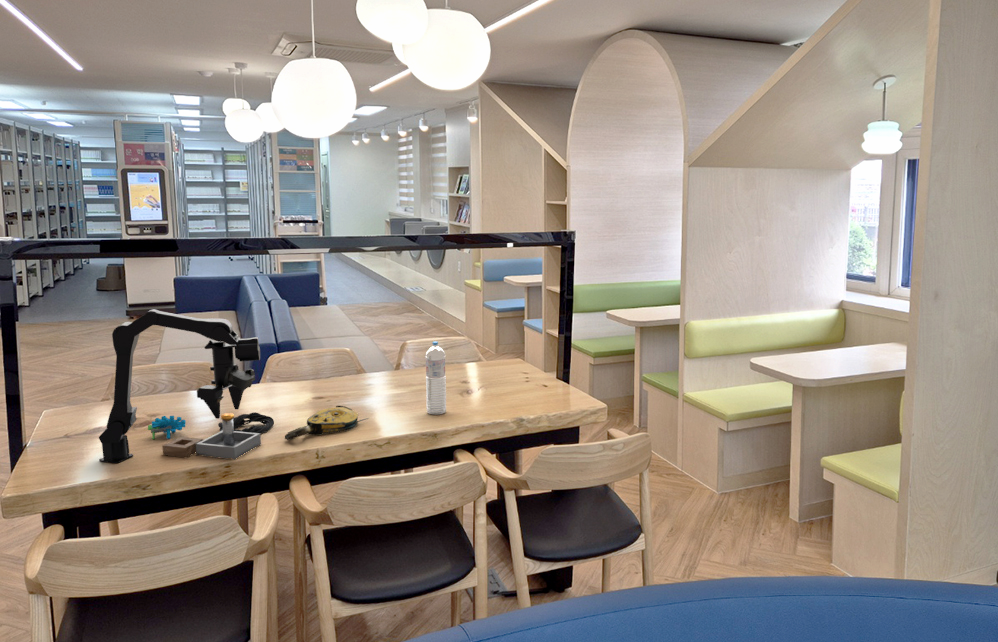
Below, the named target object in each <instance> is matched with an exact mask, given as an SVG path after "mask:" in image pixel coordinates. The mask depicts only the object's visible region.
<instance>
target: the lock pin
mask: <svg viewBox="0 0 998 642" xmlns="http://www.w3.org/2000/svg"><path fill="white" fill-rule="evenodd" d="M233 418H235V414H234V413H233V412H225V413H222V414H220V420H222V424H223V440H224V445H225V446H235V444H234V427H233Z"/></svg>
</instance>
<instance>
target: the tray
mask: <svg viewBox="0 0 998 642" xmlns="http://www.w3.org/2000/svg"><path fill="white" fill-rule="evenodd" d="M203 439H204V440H202V441H200V442H198V443H196V453H195V454H196V456H199V455H203V456H202V457H208V456H212V458H218V457H220V459H227V458H232V459H231V460H236V458H237V459H238V457H239V456H240V457H242V456H244V455H245V454H247V453H248V451H249V452H250V450H251V449H252V450H254V449H256V448H257V446H258V445H259V446H261V445H262V438H261V434H260V433H250V432H239V431H234V444H235V446H225V445H224V440H223V430H222V431H220V430H219V432H216V433H215V434H213V435H211V436H209V437H207V438H203ZM260 444H261V445H260ZM259 446H258V447H259ZM255 447H256V448H255ZM253 448H254V449H253ZM252 450H251V451H252ZM246 452H247V453H246ZM244 453H245V454H244ZM243 454H244V455H243ZM241 455H242V456H241ZM240 457H239V458H240Z"/></svg>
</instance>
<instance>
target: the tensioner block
mask: <svg viewBox="0 0 998 642" xmlns="http://www.w3.org/2000/svg"><path fill="white" fill-rule="evenodd" d="M204 439H205V438H198V437H187V436H179V437H177V438H175V439H173V440H171V441H169V442H167V443H165V444H163V445H162V456H165V455H168V456H167V457H175V456H179V457H178V458H184V457H187V458H189V457H191V456H192V455H191V454H193V455H195V454H196V453H195V452H196V443H198V442H200V441H202V440H204ZM194 453H195V454H194ZM190 455H191V456H190ZM188 456H189V457H188Z"/></svg>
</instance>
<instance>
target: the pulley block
mask: <svg viewBox="0 0 998 642" xmlns="http://www.w3.org/2000/svg"><path fill="white" fill-rule="evenodd" d="M358 418H359V413H358V411H355V410H354V409H352V408H351V407H347V406H343V405H336V406H335V407H329V408H324V409H322V410H318V411H316V412H315V413H314V414H313V415H311V416H310V417H308V418H307V420H306V425H304V426H301V427H297V428H295V429H293V430H290V431H289V432H288V431H287V433H286V434H285V435H284V440H287V441H289V440H293V439H295V438H298V437H301V436H304V435H307V434H308V435H311V436H319V435H325V434H334V433H342V432H347V431H350V430H351V431H352V430H353V429H355V428H356V427H357V425H358V424H359V422H363V421H365V420H368V419H369V417H367V418H363V419H360V420H358Z"/></svg>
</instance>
